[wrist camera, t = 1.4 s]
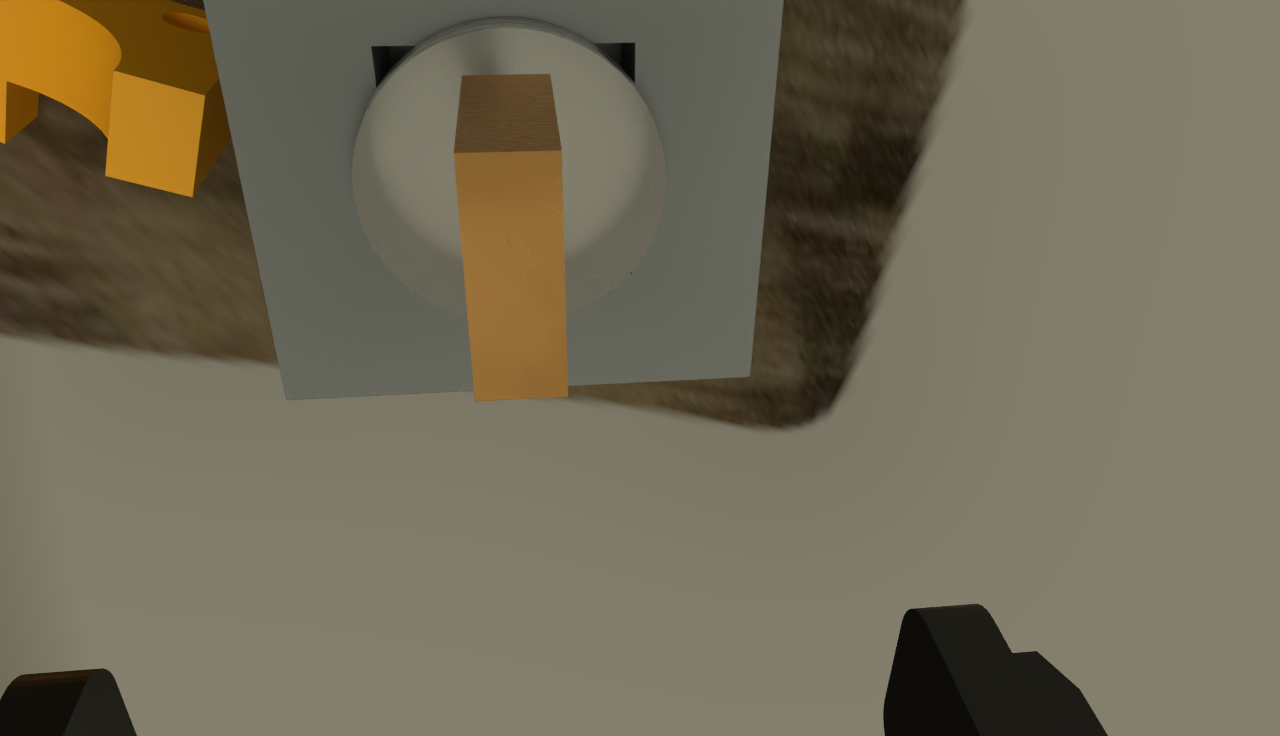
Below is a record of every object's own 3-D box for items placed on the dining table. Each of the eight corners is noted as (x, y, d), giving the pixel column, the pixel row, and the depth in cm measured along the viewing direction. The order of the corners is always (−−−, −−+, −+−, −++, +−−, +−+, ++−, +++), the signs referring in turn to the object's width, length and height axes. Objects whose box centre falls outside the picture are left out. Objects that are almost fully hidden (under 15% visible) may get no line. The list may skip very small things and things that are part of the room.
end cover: (355, -14, 23) (289, 102, 16) (646, -17, 24) (710, 95, 17) (389, 252, 27) (349, 446, 20) (641, 243, 28) (692, 427, 20)
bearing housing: (260, -161, 26) (177, -123, 19) (721, -158, 27) (794, -120, 20) (330, 260, 32) (286, 400, 25) (699, 247, 33) (749, 376, 27)
